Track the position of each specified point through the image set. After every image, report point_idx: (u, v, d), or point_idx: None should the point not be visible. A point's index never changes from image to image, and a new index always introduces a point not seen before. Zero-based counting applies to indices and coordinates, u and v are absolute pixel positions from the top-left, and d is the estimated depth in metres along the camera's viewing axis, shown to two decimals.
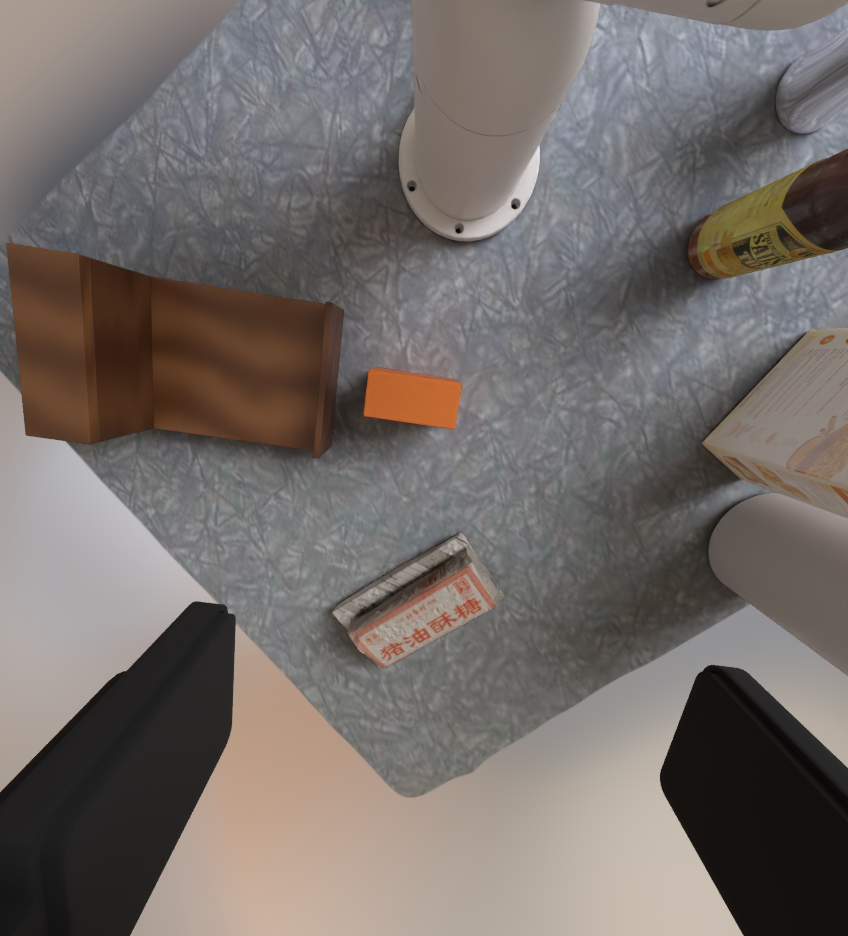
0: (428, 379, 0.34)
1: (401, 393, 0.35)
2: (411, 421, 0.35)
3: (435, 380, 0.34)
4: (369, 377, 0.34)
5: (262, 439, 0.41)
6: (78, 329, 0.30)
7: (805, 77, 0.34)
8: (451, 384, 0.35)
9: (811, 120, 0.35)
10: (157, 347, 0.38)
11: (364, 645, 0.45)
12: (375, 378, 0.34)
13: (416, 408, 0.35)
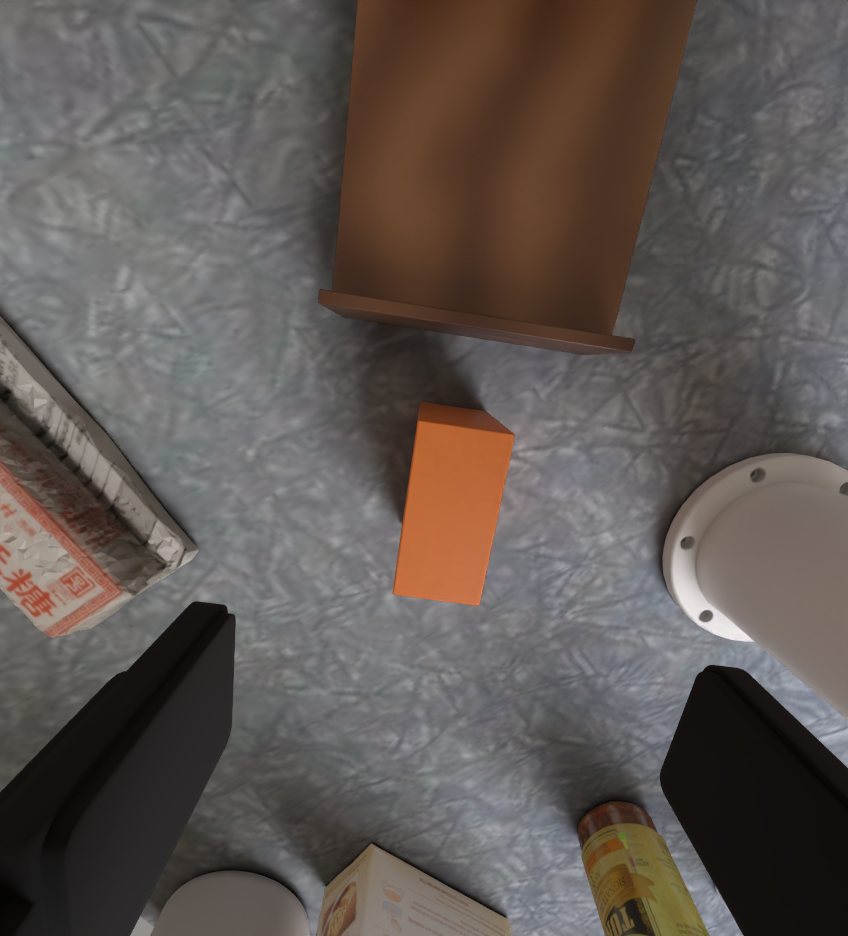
0: (489, 548, 0.18)
1: (464, 498, 0.17)
2: (407, 517, 0.17)
3: (487, 560, 0.18)
4: (498, 435, 0.16)
5: (352, 165, 0.18)
6: None
7: None
8: (478, 588, 0.18)
9: None
10: None
11: None
12: (496, 448, 0.17)
13: (433, 525, 0.17)
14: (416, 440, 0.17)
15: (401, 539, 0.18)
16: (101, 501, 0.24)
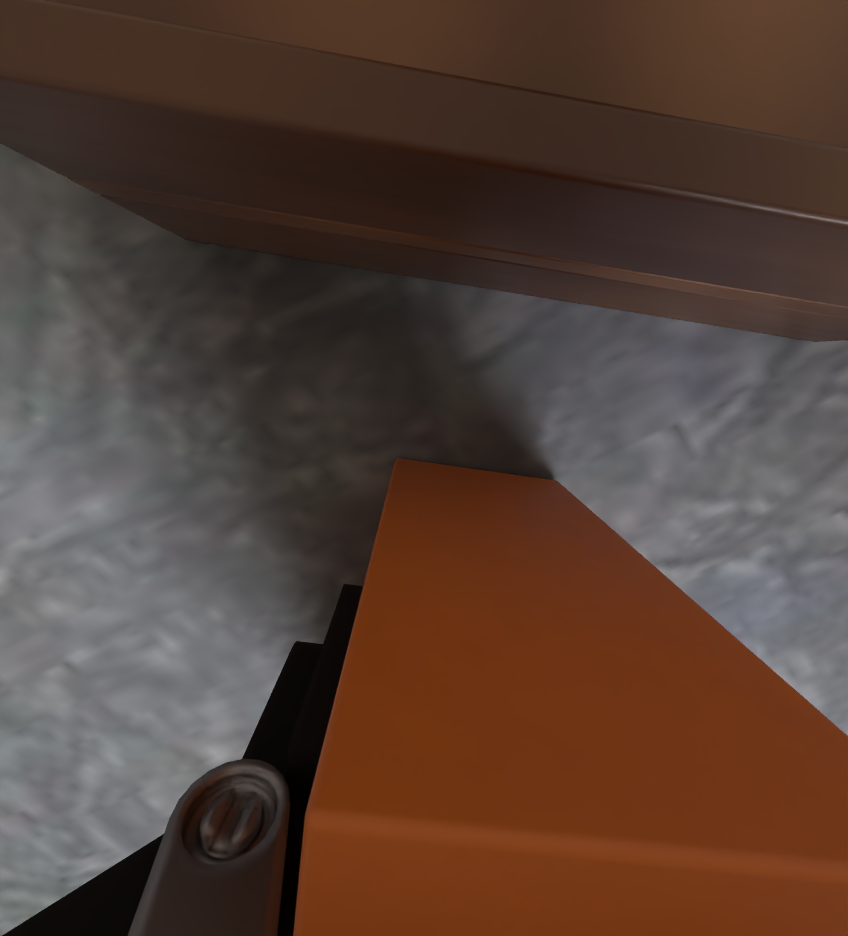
0: None
1: None
2: None
3: None
4: None
5: None
6: None
7: None
8: None
9: None
10: None
11: None
12: None
13: None
14: (304, 930, 0.02)
15: None
16: None
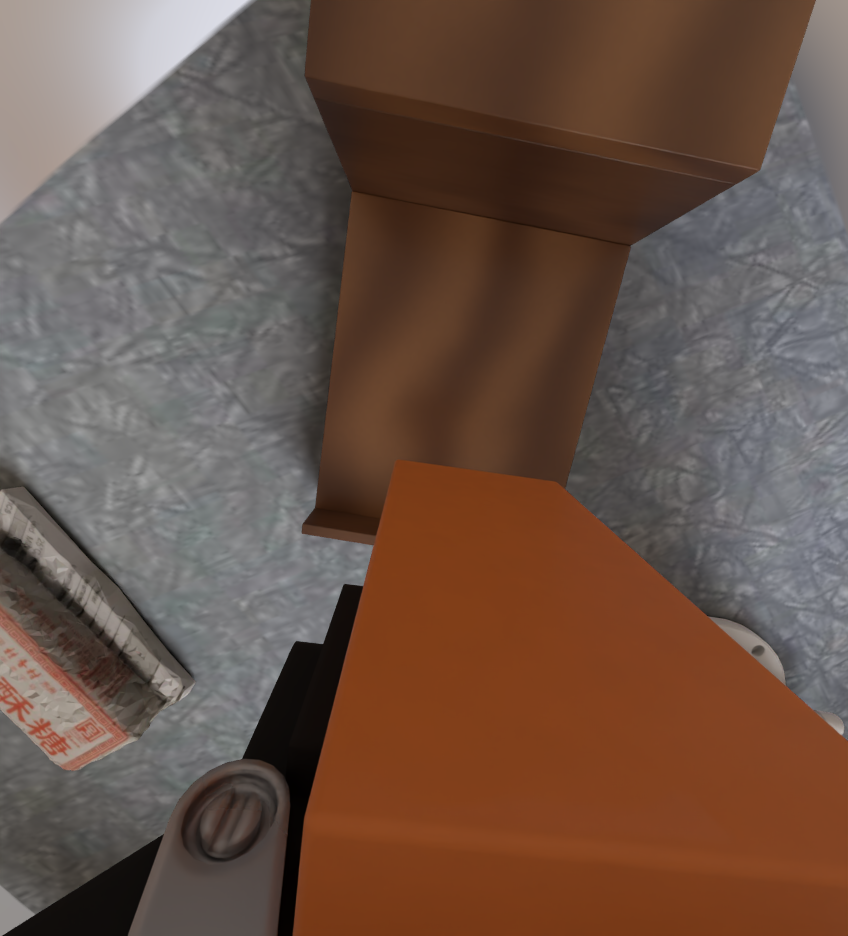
0: None
1: None
2: None
3: None
4: None
5: (334, 411, 0.22)
6: (598, 124, 0.12)
7: None
8: None
9: None
10: (508, 233, 0.20)
11: None
12: None
13: None
14: (303, 933, 0.02)
15: None
16: (112, 650, 0.27)
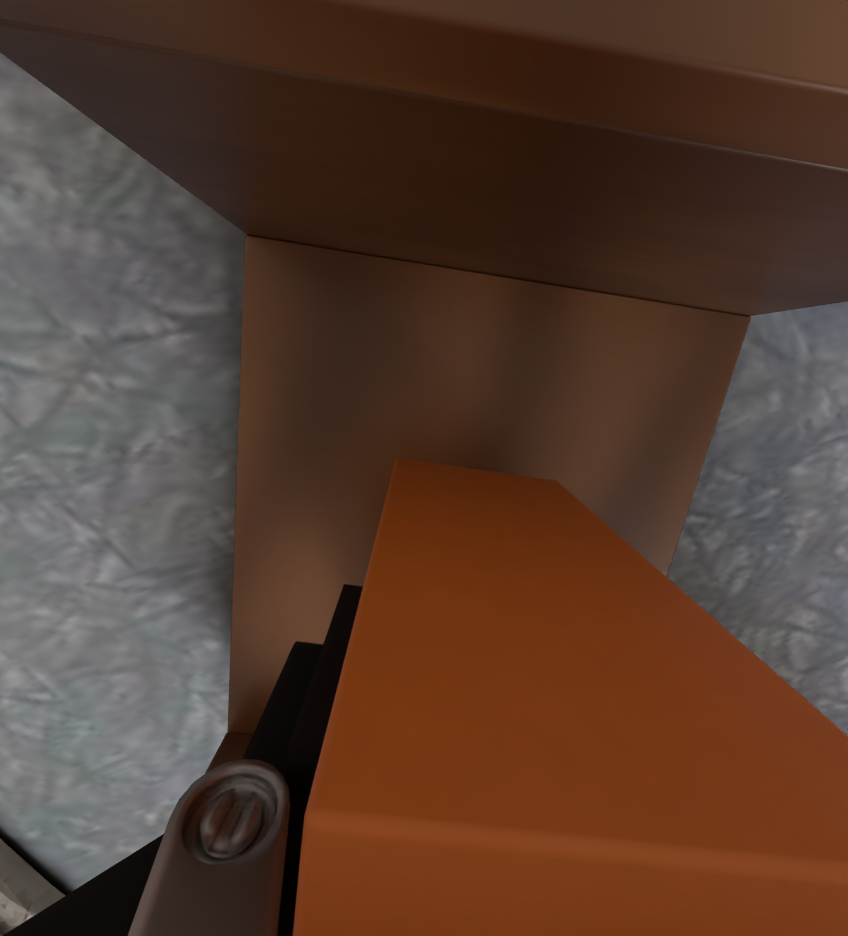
0: None
1: None
2: None
3: None
4: None
5: (245, 594, 0.13)
6: None
7: None
8: None
9: None
10: (530, 301, 0.11)
11: None
12: None
13: None
14: (303, 931, 0.02)
15: None
16: None
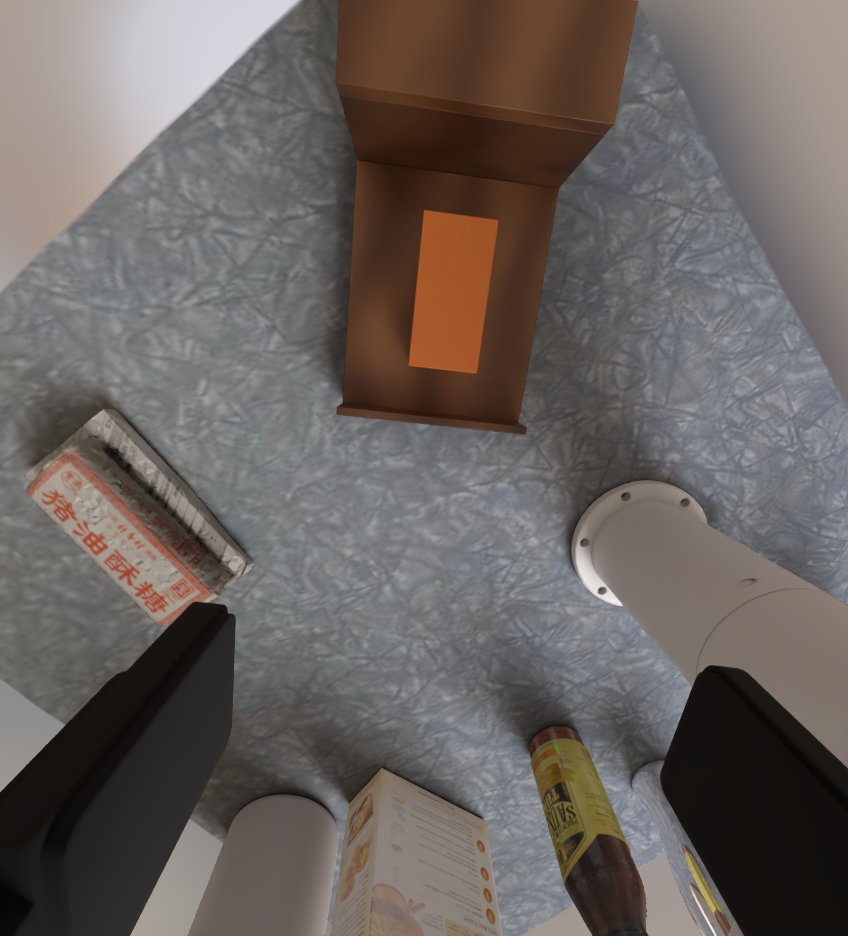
0: (482, 320, 0.23)
1: (462, 277, 0.22)
2: (418, 294, 0.22)
3: (481, 332, 0.23)
4: (486, 221, 0.22)
5: (353, 326, 0.30)
6: (514, 101, 0.20)
7: None
8: (475, 357, 0.23)
9: (642, 791, 0.45)
10: (470, 184, 0.28)
11: (58, 469, 0.31)
12: (484, 232, 0.22)
13: (438, 302, 0.23)
14: (423, 227, 0.22)
15: (414, 315, 0.23)
16: (191, 534, 0.36)
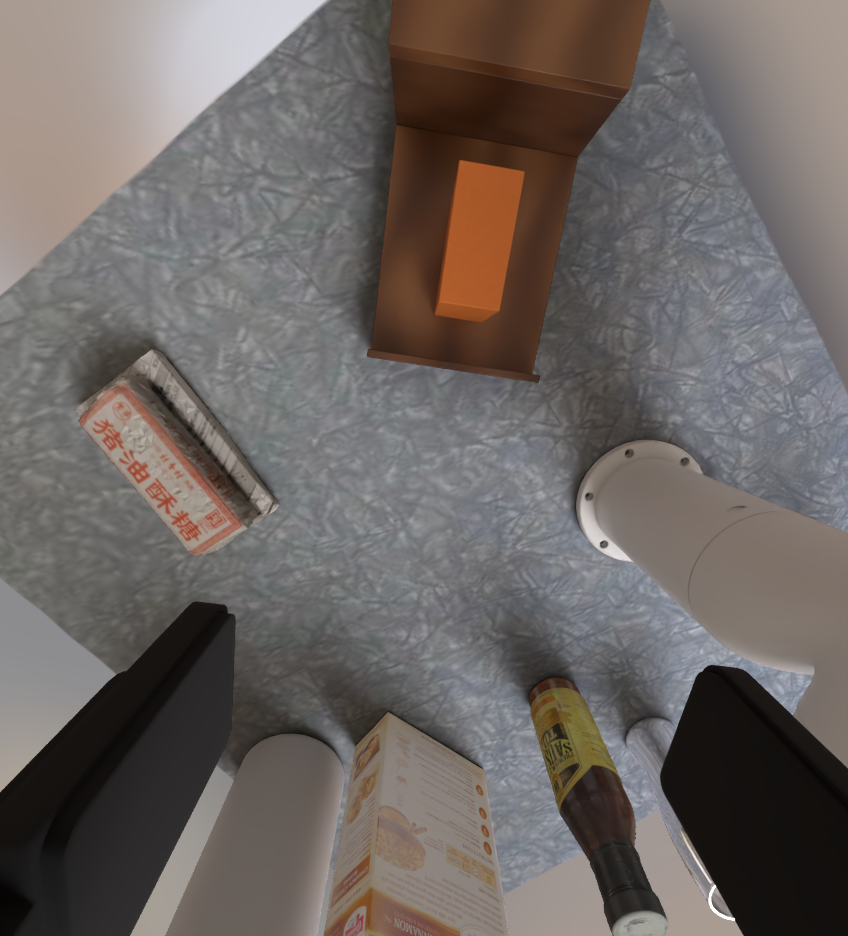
0: (506, 262, 0.26)
1: (490, 221, 0.25)
2: (450, 236, 0.25)
3: (504, 273, 0.26)
4: (513, 171, 0.24)
5: (384, 278, 0.33)
6: (543, 65, 0.23)
7: (664, 738, 0.46)
8: (498, 296, 0.26)
9: (635, 745, 0.47)
10: (497, 150, 0.31)
11: (110, 400, 0.34)
12: (511, 182, 0.24)
13: (468, 244, 0.25)
14: (458, 175, 0.24)
15: (445, 255, 0.26)
16: (224, 471, 0.38)
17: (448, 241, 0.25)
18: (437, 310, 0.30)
